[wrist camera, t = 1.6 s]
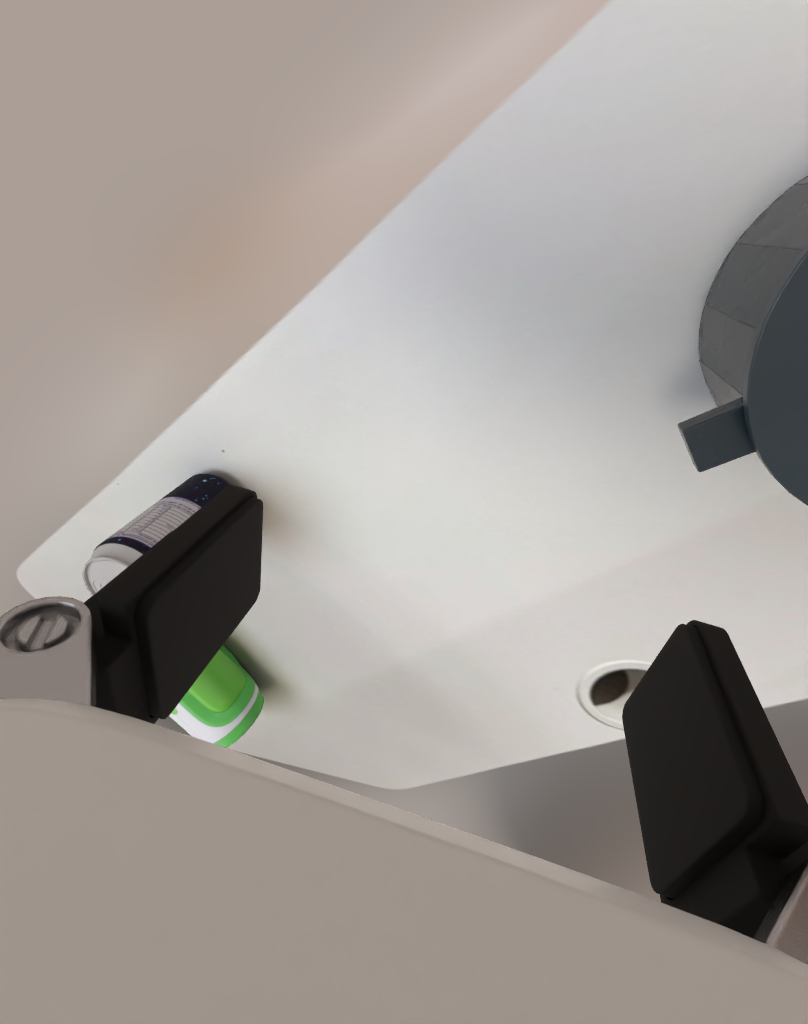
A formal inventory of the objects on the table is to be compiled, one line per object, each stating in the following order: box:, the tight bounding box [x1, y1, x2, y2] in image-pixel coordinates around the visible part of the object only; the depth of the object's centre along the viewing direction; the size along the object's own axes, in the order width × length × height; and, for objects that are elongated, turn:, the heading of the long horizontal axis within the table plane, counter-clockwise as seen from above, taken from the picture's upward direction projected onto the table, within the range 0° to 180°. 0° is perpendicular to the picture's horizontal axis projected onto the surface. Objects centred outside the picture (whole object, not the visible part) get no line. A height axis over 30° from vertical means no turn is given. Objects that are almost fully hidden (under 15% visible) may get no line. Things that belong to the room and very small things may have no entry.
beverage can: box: [83, 474, 232, 596], centre depth 36 cm, size 6×6×12 cm
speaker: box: [169, 645, 264, 748], centre depth 47 cm, size 18×7×8 cm, turn 36°
